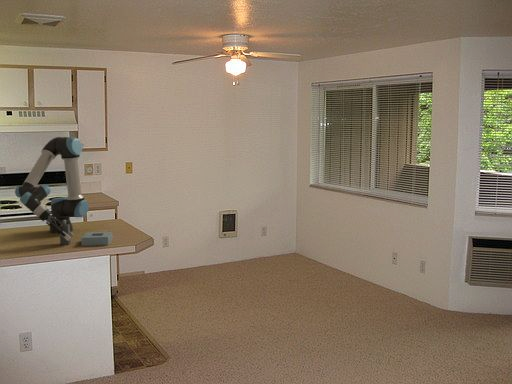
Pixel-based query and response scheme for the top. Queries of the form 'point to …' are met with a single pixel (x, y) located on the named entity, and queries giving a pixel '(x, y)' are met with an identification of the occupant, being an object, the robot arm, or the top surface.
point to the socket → (97, 238)
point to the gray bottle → (66, 229)
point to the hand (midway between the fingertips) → (71, 237)
